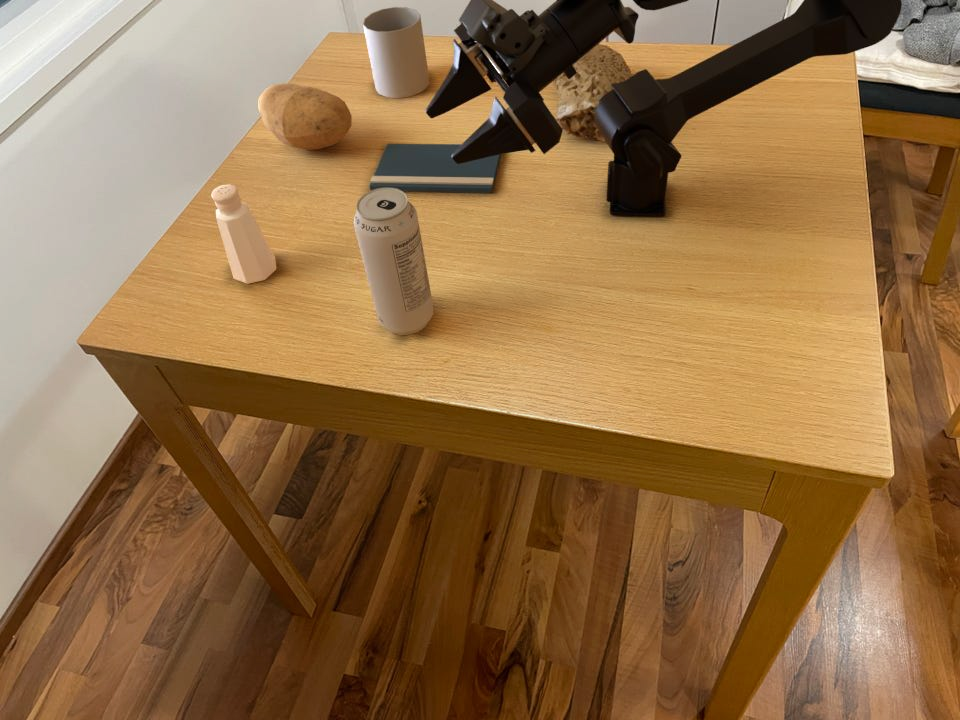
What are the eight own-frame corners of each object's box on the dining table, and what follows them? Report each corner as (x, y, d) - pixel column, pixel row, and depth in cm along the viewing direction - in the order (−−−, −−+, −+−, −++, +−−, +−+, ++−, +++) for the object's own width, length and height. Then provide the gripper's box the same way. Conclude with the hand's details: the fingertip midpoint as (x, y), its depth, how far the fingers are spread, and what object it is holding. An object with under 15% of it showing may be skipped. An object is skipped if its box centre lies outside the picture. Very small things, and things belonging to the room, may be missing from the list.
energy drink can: (399, 293, 83) (374, 178, 72) (445, 309, 80) (426, 192, 69) (368, 327, 79) (336, 212, 68) (414, 345, 77) (389, 229, 66)
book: (502, 149, 101) (502, 142, 100) (492, 193, 94) (491, 185, 93) (388, 148, 103) (386, 141, 103) (370, 190, 97) (368, 183, 96)
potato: (333, 172, 100) (319, 118, 94) (254, 151, 106) (236, 98, 100) (374, 136, 106) (363, 83, 100) (298, 117, 111) (283, 66, 105)
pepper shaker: (224, 268, 88) (190, 190, 80) (265, 248, 90) (236, 170, 82) (243, 291, 85) (210, 212, 77) (286, 269, 87) (257, 190, 79)
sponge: (631, 154, 100) (649, 55, 109) (621, 107, 93) (642, 7, 103) (537, 160, 105) (562, 66, 114) (522, 117, 98) (550, 21, 108)
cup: (427, 96, 112) (417, 29, 105) (373, 99, 113) (360, 34, 106) (430, 69, 118) (421, 4, 111) (379, 73, 119) (367, 9, 111)
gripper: (488, -67, 73) (369, 40, 77) (564, 9, 61) (419, 131, 65) (541, 19, 82) (431, 112, 85) (617, 101, 70) (486, 205, 73)
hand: (440, 136), depth 77 cm, fingers open, 9 cm apart
